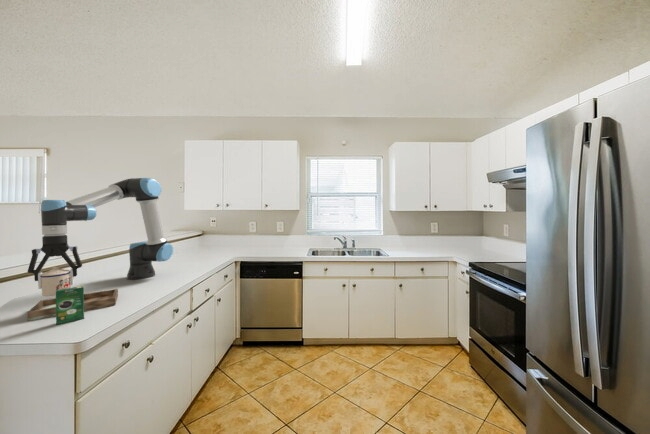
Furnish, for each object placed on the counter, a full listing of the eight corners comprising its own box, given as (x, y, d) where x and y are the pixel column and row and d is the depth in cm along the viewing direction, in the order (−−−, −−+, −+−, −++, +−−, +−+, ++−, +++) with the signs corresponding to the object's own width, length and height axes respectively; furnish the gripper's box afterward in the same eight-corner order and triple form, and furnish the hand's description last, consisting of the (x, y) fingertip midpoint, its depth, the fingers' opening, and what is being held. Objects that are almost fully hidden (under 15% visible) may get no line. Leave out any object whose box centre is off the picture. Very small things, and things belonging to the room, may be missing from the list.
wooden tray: (117, 295, 131) (117, 288, 131) (115, 305, 117) (114, 297, 117) (41, 308, 115) (40, 300, 115) (27, 321, 101) (27, 312, 101)
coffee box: (84, 316, 105) (83, 285, 105) (85, 318, 103) (83, 286, 103) (56, 323, 99) (54, 289, 99) (56, 325, 97) (54, 291, 97)
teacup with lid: (60, 295, 107) (58, 268, 107) (34, 297, 106) (33, 269, 106) (81, 287, 119) (80, 262, 119) (59, 288, 118) (57, 263, 117)
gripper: (13, 237, 102) (16, 293, 103) (87, 234, 115) (88, 283, 115) (20, 236, 108) (23, 288, 109) (89, 233, 121) (91, 280, 121)
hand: (56, 286), depth 112 cm, fingers closed on teacup with lid, 9 cm apart
